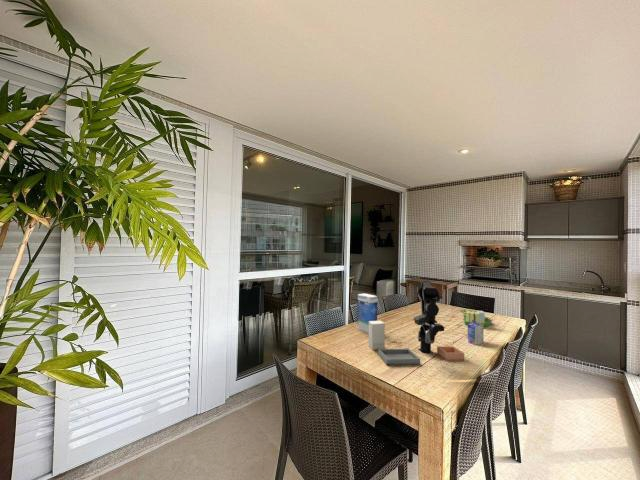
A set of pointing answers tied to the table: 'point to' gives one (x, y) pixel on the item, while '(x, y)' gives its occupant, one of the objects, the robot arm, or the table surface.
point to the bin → (450, 353)
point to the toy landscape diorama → (475, 317)
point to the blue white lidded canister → (366, 311)
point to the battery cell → (428, 337)
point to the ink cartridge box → (475, 333)
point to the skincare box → (376, 335)
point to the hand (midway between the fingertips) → (429, 339)
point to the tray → (398, 357)
